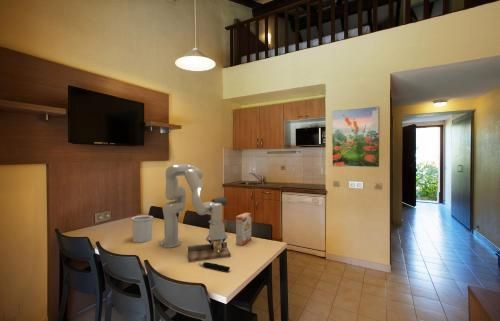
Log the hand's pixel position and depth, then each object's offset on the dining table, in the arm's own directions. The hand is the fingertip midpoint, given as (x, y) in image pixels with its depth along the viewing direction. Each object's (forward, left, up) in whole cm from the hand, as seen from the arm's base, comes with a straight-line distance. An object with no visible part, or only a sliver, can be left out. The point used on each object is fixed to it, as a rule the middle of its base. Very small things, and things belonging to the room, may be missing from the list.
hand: (217, 248), depth 156 cm
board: (-6, -1, -3) cm, 6 cm away
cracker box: (+22, +14, -3) cm, 26 cm away
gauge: (0, -3, -1) cm, 3 cm away
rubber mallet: (+8, +42, -3) cm, 43 cm away
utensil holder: (-52, +45, -3) cm, 68 cm away
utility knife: (-5, -20, -3) cm, 21 cm away
